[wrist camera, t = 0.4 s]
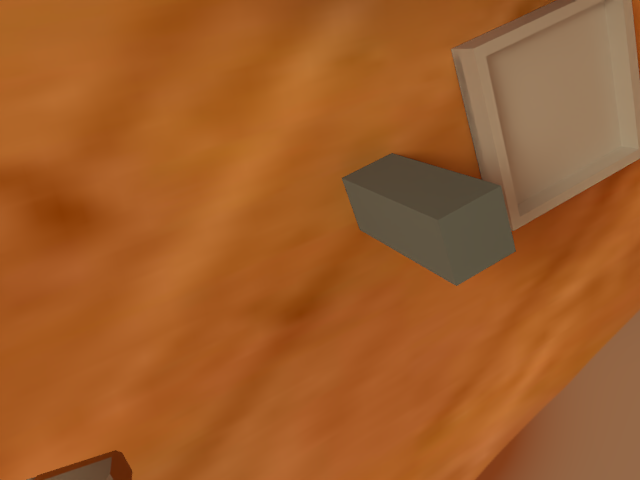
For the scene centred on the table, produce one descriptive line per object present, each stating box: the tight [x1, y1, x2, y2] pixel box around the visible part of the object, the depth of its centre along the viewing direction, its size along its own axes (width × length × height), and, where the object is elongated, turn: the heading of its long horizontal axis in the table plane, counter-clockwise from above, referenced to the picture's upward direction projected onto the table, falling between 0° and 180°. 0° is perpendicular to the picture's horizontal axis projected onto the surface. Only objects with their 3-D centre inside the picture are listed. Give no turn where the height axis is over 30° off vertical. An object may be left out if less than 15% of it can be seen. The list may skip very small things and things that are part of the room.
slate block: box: [342, 153, 516, 286], centre depth 44 cm, size 5×5×14 cm
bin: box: [451, 0, 640, 231], centre depth 53 cm, size 17×17×3 cm
